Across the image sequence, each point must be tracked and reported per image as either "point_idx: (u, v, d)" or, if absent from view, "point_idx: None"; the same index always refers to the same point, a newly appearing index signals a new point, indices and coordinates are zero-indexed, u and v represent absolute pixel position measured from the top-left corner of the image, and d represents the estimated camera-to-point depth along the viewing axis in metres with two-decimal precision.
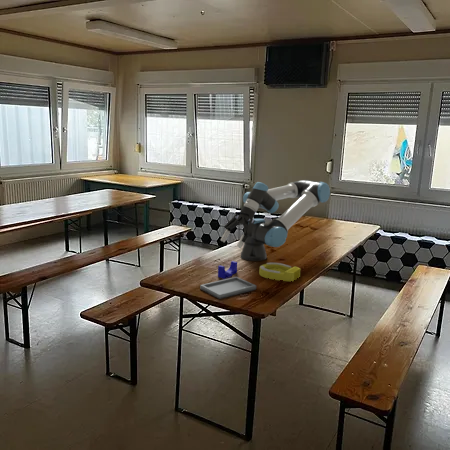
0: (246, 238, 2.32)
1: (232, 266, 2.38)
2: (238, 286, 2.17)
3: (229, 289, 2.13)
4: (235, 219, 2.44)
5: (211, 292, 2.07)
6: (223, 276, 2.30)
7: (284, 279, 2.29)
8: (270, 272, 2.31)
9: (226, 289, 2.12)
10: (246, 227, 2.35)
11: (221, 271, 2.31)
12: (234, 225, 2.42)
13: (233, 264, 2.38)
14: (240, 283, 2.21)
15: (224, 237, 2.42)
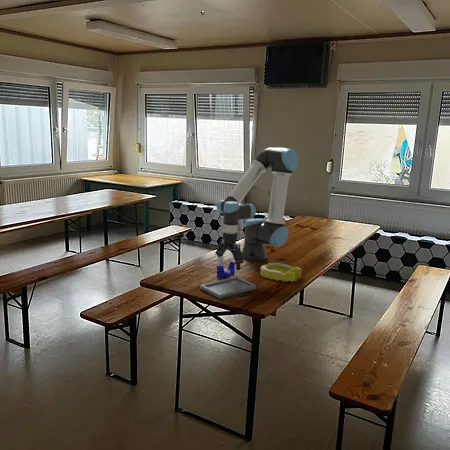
0: None
1: (230, 266, 2.39)
2: (238, 286, 2.17)
3: (229, 289, 2.13)
4: (222, 244, 2.37)
5: (211, 292, 2.07)
6: (222, 276, 2.30)
7: (285, 279, 2.29)
8: (271, 272, 2.31)
9: (226, 289, 2.12)
10: (235, 254, 2.28)
11: (219, 271, 2.31)
12: (224, 251, 2.36)
13: (232, 264, 2.39)
14: (240, 283, 2.21)
15: (220, 264, 2.39)
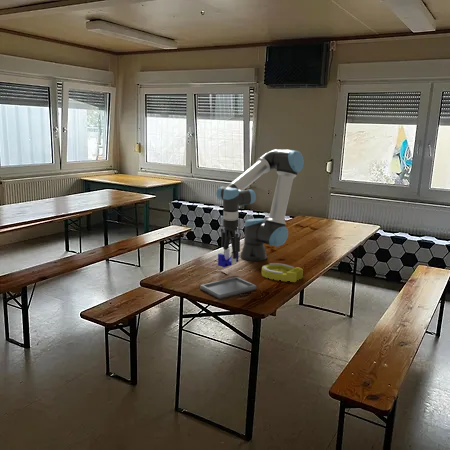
0: (236, 254, 2.30)
1: None
2: (238, 286, 2.17)
3: (229, 289, 2.13)
4: (224, 233, 2.35)
5: (211, 292, 2.07)
6: (223, 264, 2.29)
7: (286, 280, 2.29)
8: (272, 273, 2.31)
9: (226, 289, 2.12)
10: (234, 242, 2.29)
11: (220, 259, 2.30)
12: (228, 240, 2.34)
13: None
14: (240, 283, 2.21)
15: (226, 257, 2.36)
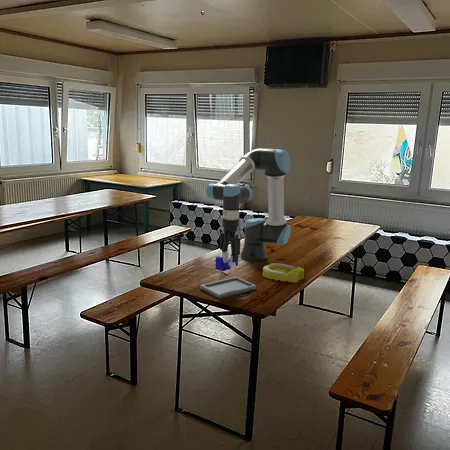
0: (236, 257, 2.09)
1: None
2: (238, 286, 2.17)
3: (229, 289, 2.13)
4: (223, 234, 2.14)
5: (211, 292, 2.07)
6: (221, 268, 2.07)
7: (288, 280, 2.28)
8: (274, 273, 2.30)
9: (226, 289, 2.12)
10: (233, 244, 2.08)
11: (218, 262, 2.08)
12: (227, 242, 2.12)
13: None
14: (240, 283, 2.21)
15: (225, 261, 2.14)
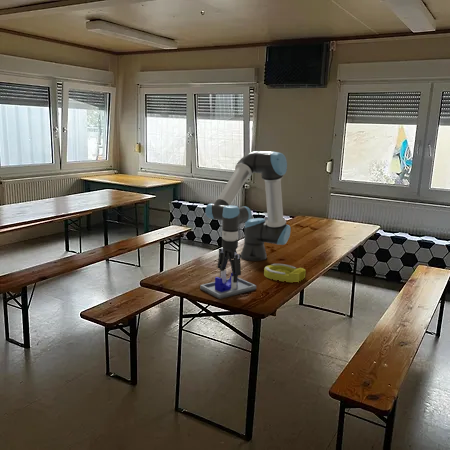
0: (237, 277, 2.10)
1: None
2: (238, 286, 2.17)
3: None
4: (222, 254, 2.16)
5: (211, 292, 2.07)
6: (220, 289, 2.10)
7: (289, 280, 2.28)
8: (275, 273, 2.30)
9: None
10: (233, 264, 2.09)
11: (217, 283, 2.10)
12: (225, 262, 2.15)
13: None
14: (240, 283, 2.21)
15: (223, 279, 2.17)
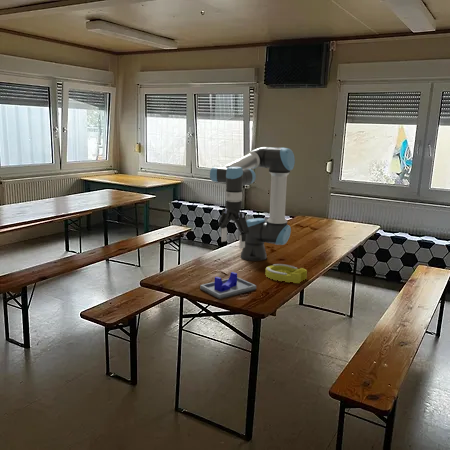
0: (245, 236, 2.09)
1: (231, 278, 2.18)
2: (238, 286, 2.17)
3: (229, 289, 2.13)
4: (225, 214, 2.17)
5: (211, 292, 2.07)
6: (219, 289, 2.10)
7: (291, 281, 2.27)
8: (276, 274, 2.29)
9: None
10: (240, 224, 2.09)
11: (217, 283, 2.10)
12: (227, 221, 2.17)
13: (232, 275, 2.17)
14: (240, 283, 2.21)
15: (224, 237, 2.20)
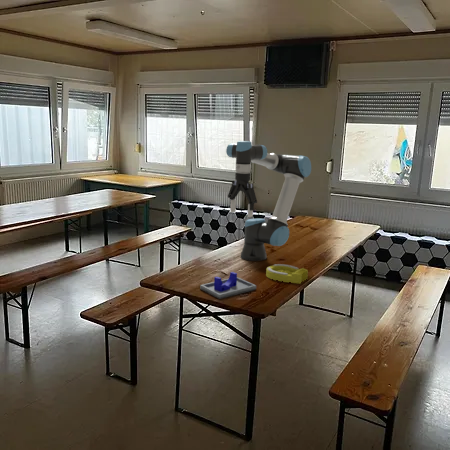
0: (253, 205, 2.24)
1: (231, 278, 2.18)
2: (238, 286, 2.17)
3: (229, 289, 2.13)
4: (234, 186, 2.33)
5: (211, 292, 2.07)
6: (219, 288, 2.10)
7: (291, 281, 2.27)
8: (277, 274, 2.29)
9: None
10: (248, 194, 2.25)
11: (217, 283, 2.10)
12: (236, 193, 2.33)
13: (232, 275, 2.17)
14: (240, 283, 2.21)
15: (233, 207, 2.36)
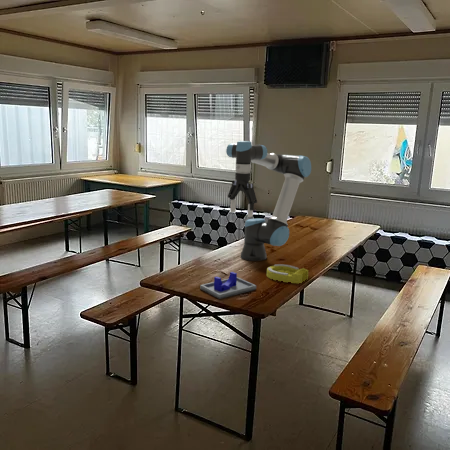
0: (253, 205, 2.24)
1: (231, 278, 2.18)
2: (238, 286, 2.17)
3: (229, 289, 2.13)
4: (234, 186, 2.33)
5: (211, 292, 2.07)
6: (219, 288, 2.10)
7: (292, 281, 2.27)
8: (278, 274, 2.29)
9: None
10: (248, 194, 2.25)
11: (217, 283, 2.10)
12: (236, 193, 2.33)
13: (232, 275, 2.17)
14: (240, 283, 2.21)
15: (233, 207, 2.36)
